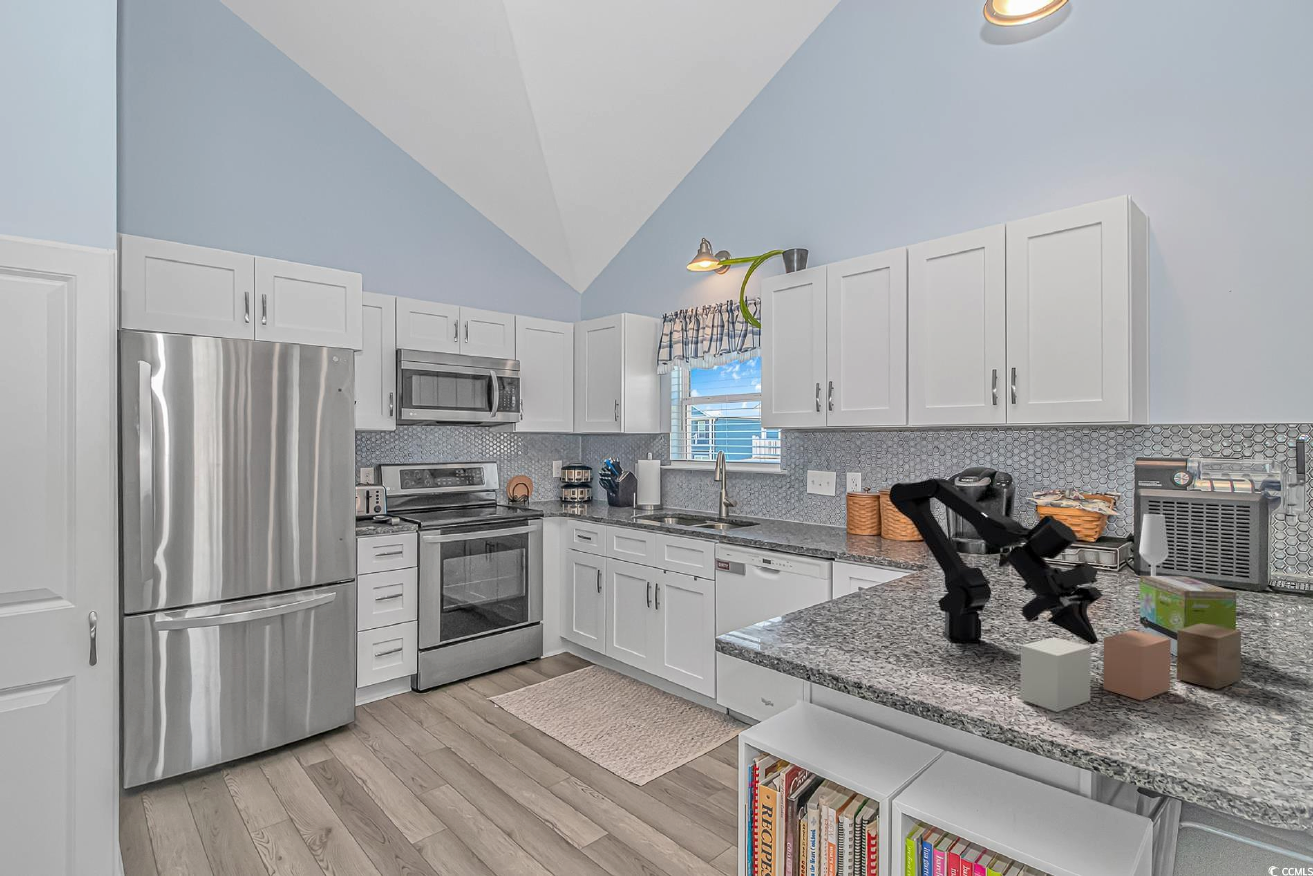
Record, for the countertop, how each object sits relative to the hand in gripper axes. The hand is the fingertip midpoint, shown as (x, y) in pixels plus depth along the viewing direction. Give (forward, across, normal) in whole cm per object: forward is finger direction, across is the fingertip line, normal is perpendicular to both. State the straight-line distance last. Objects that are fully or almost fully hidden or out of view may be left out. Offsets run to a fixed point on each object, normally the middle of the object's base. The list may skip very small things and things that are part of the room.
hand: (1095, 643), depth 121 cm
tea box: (+5, +36, +5) cm, 36 cm away
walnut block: (+12, +18, -3) cm, 22 cm away
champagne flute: (-14, +86, +24) cm, 90 cm away
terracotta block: (+10, 0, 0) cm, 10 cm away
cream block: (+6, -18, +3) cm, 19 cm away
